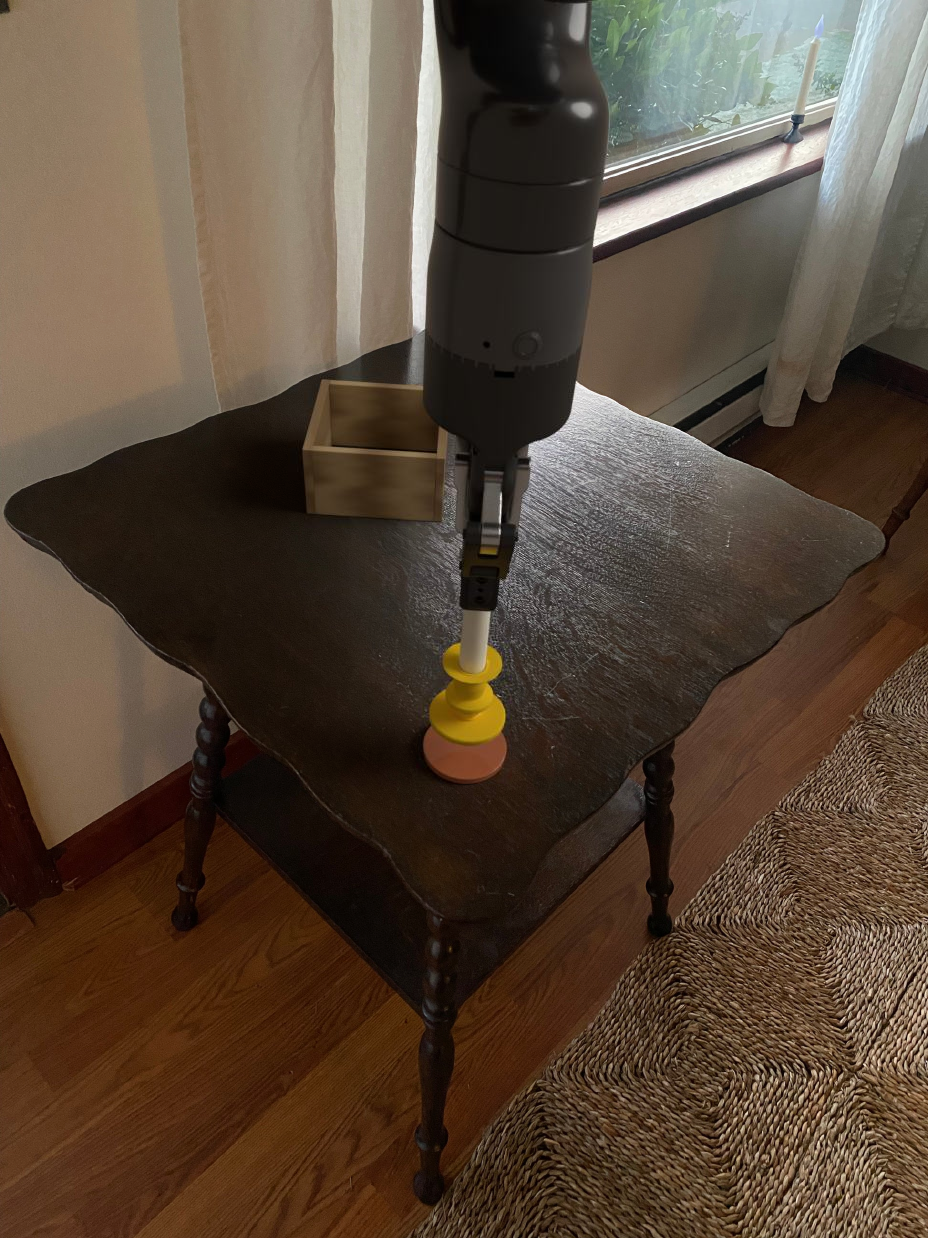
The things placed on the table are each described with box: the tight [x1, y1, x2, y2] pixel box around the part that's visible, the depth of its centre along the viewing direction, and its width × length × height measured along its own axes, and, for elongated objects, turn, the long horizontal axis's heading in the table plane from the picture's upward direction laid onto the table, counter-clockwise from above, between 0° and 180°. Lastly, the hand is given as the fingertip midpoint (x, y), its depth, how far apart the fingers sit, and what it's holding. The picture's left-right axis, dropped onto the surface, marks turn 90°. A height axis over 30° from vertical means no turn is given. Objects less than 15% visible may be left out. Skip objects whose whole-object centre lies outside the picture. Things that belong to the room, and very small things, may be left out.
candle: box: [428, 609, 506, 746], centre depth 56 cm, size 5×5×16 cm
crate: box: [301, 379, 449, 523], centre depth 86 cm, size 13×13×7 cm
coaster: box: [422, 725, 508, 785], centre depth 64 cm, size 6×6×1 cm
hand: (478, 594), depth 54 cm, fingers closed on candle
